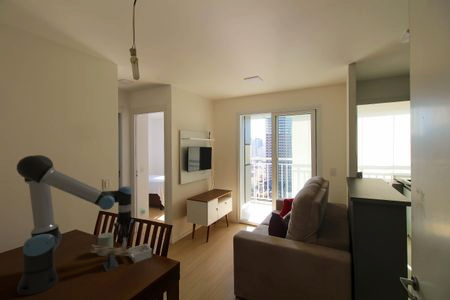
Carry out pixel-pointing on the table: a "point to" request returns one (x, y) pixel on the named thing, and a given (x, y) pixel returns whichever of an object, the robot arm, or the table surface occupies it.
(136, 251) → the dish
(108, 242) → the can
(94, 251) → the lever
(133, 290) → the table surface
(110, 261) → the fulcrum
